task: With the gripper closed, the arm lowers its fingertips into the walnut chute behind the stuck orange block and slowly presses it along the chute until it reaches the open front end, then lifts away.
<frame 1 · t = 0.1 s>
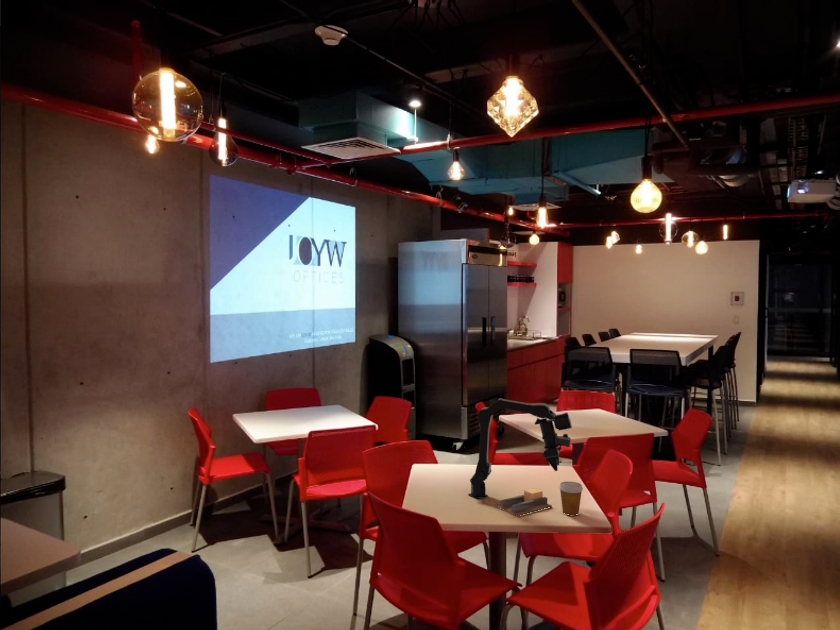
hand: (557, 468, 253), 15 cm above the table, tool pointing down, fingers open, 9 cm apart
block: (533, 496, 251), point 4 cm above the table, slide at 0.0 cm
disposable coffee cup: (570, 514, 241), on the table
chute: (523, 507, 248), on the table
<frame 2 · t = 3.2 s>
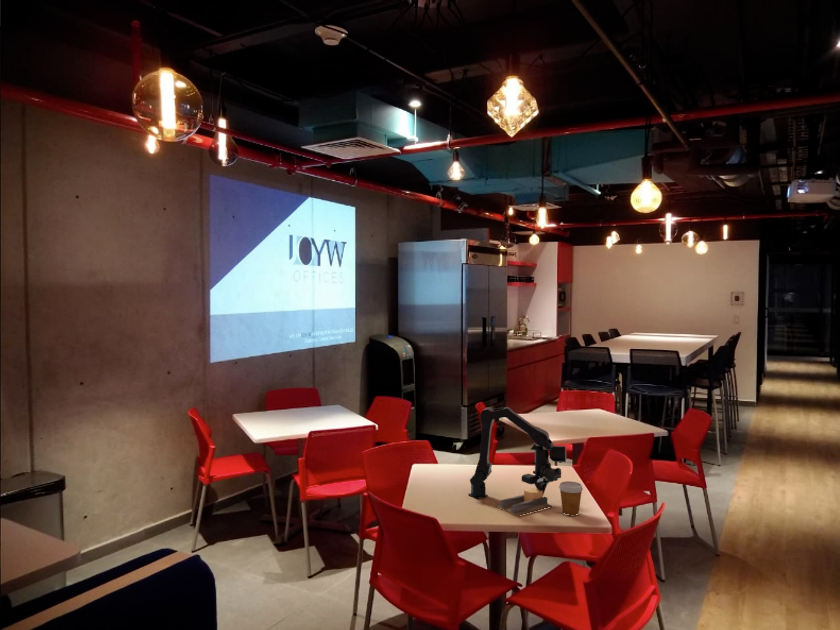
hand: (541, 495, 254), 3 cm above the table, tool pointing down, fingers closed
block: (533, 496, 251), point 4 cm above the table, slide at 0.0 cm, touching gripper
everything else where it was.
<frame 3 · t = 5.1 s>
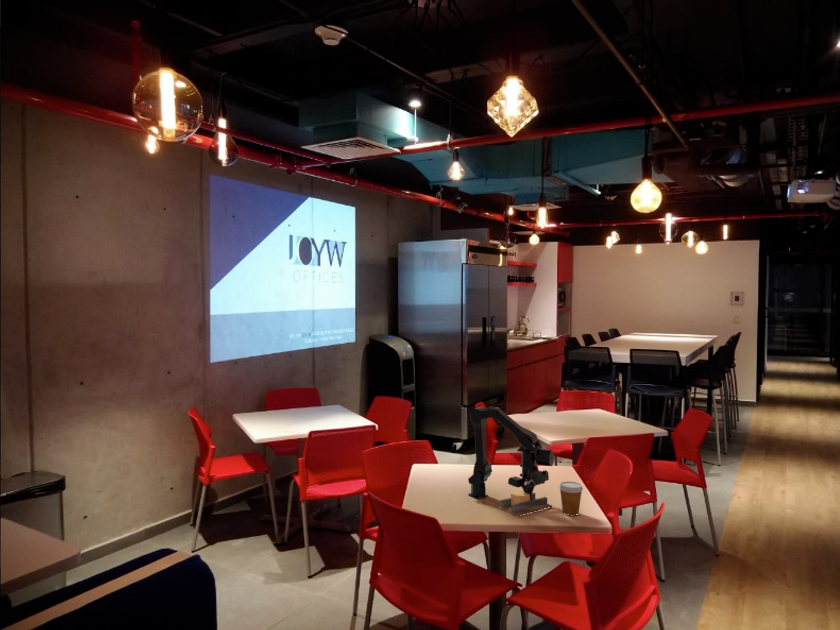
hand: (528, 499, 250), 3 cm above the table, tool pointing down, fingers closed
block: (520, 499, 247), point 4 cm above the table, slide at 7.5 cm, touching gripper
everything else where it was.
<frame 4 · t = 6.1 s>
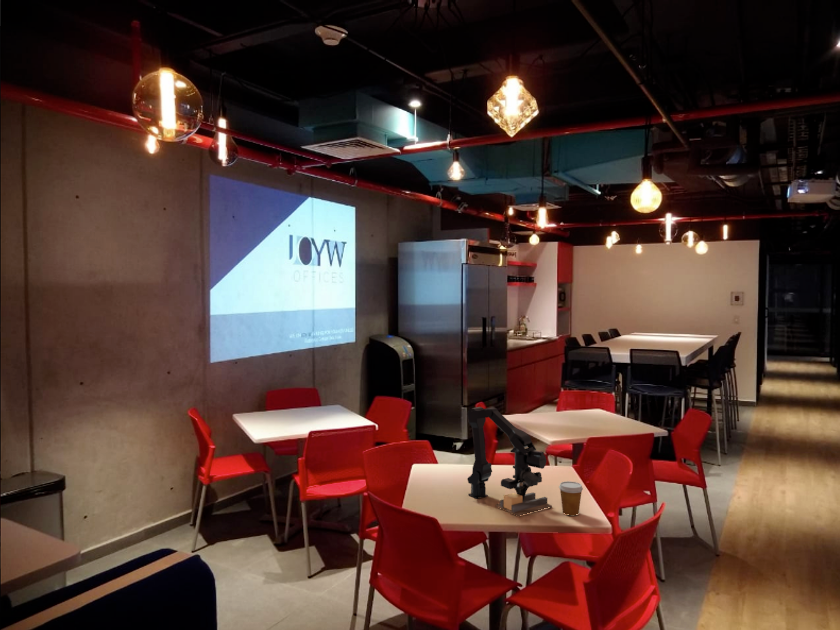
hand: (521, 500, 248), 3 cm above the table, tool pointing down, fingers closed
block: (513, 501, 245), point 4 cm above the table, slide at 11.6 cm, touching gripper
everything else where it was.
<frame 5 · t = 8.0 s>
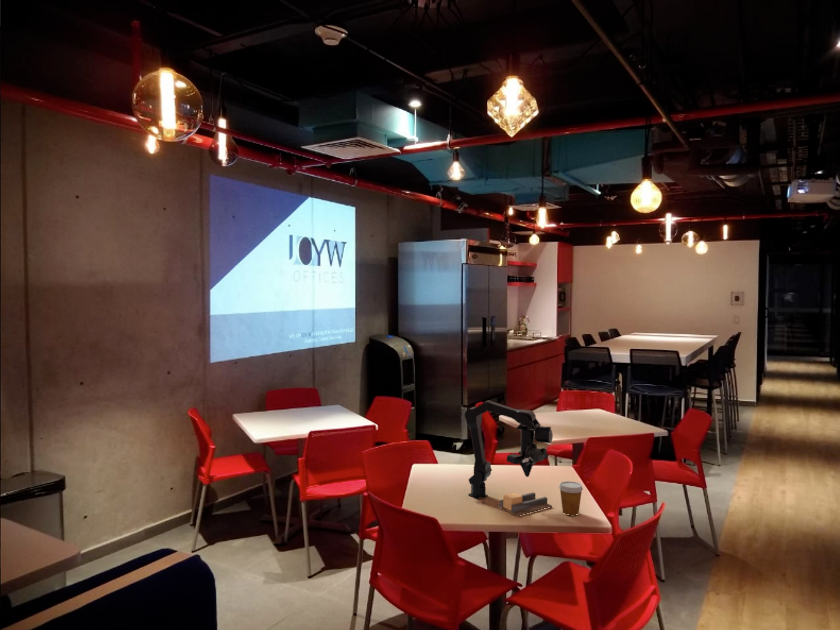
hand: (527, 476, 252), 12 cm above the table, tool pointing down, fingers closed
block: (512, 501, 245), point 4 cm above the table, slide at 11.8 cm
everything else where it was.
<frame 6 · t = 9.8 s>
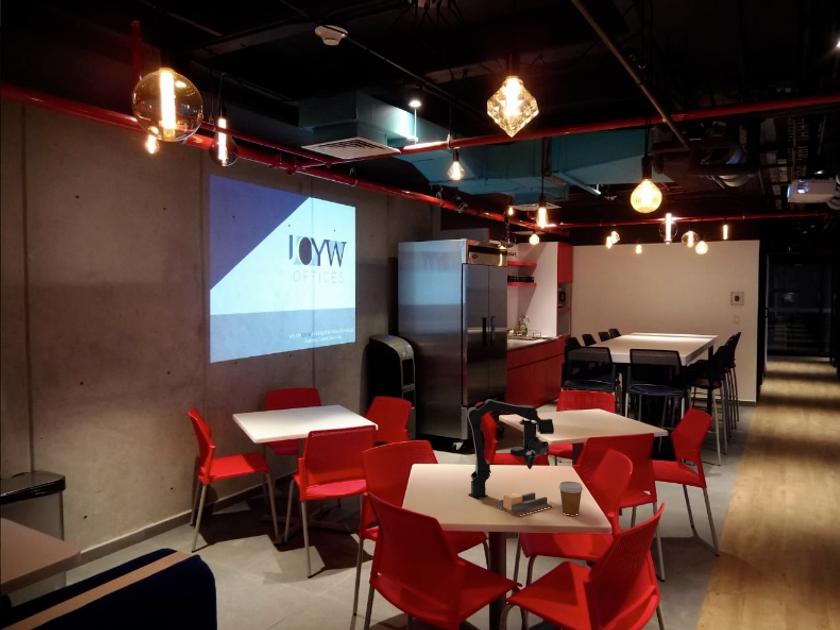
hand: (529, 468, 264), 12 cm above the table, tool pointing down, fingers closed
nothing on the table moved.
at the end: block slide at 11.8 cm; disposable coffee cup moved 0.2 cm from its start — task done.
